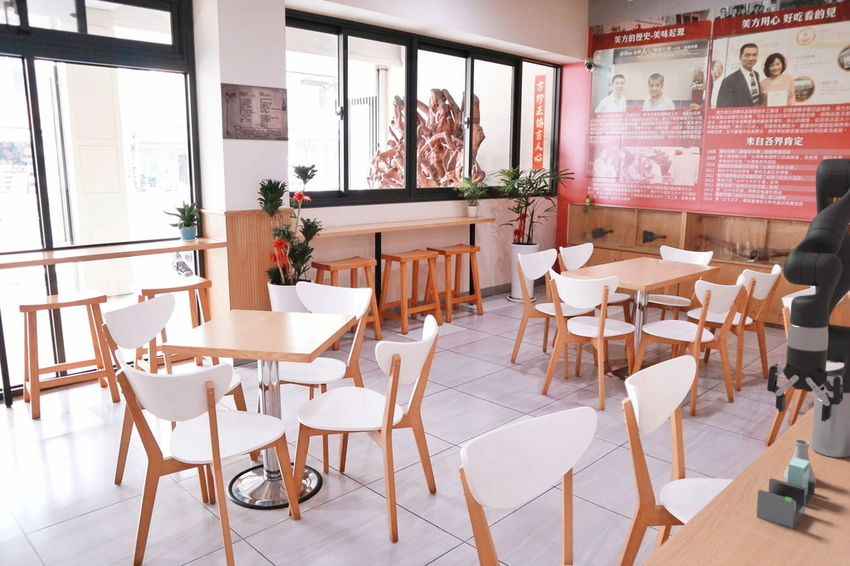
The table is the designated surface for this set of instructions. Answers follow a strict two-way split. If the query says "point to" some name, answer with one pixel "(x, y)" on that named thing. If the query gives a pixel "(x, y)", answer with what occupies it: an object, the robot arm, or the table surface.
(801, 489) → the port
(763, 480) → the table surface
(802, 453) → the flask
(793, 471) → the plug
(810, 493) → the grey ridged tray
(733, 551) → the table surface
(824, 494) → the table surface
